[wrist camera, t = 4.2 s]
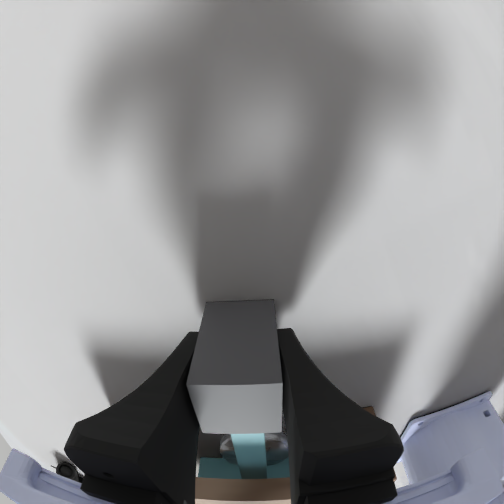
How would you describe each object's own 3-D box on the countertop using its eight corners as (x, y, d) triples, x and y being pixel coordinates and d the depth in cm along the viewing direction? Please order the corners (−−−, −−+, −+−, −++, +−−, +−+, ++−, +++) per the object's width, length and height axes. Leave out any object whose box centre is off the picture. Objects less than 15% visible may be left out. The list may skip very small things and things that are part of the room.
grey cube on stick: (339, 294, 13) (374, 371, 8) (311, 459, 19) (318, 509, 14) (145, 303, 13) (104, 377, 8) (203, 462, 19) (197, 512, 15)
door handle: (167, 513, 23) (44, 470, 20) (147, 528, 30) (62, 499, 26) (169, 492, 26) (51, 451, 23) (149, 514, 33) (65, 486, 29)
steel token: (290, 421, 17) (292, 435, 16) (287, 453, 19) (289, 465, 18) (216, 423, 17) (215, 437, 16) (225, 454, 19) (224, 466, 18)
